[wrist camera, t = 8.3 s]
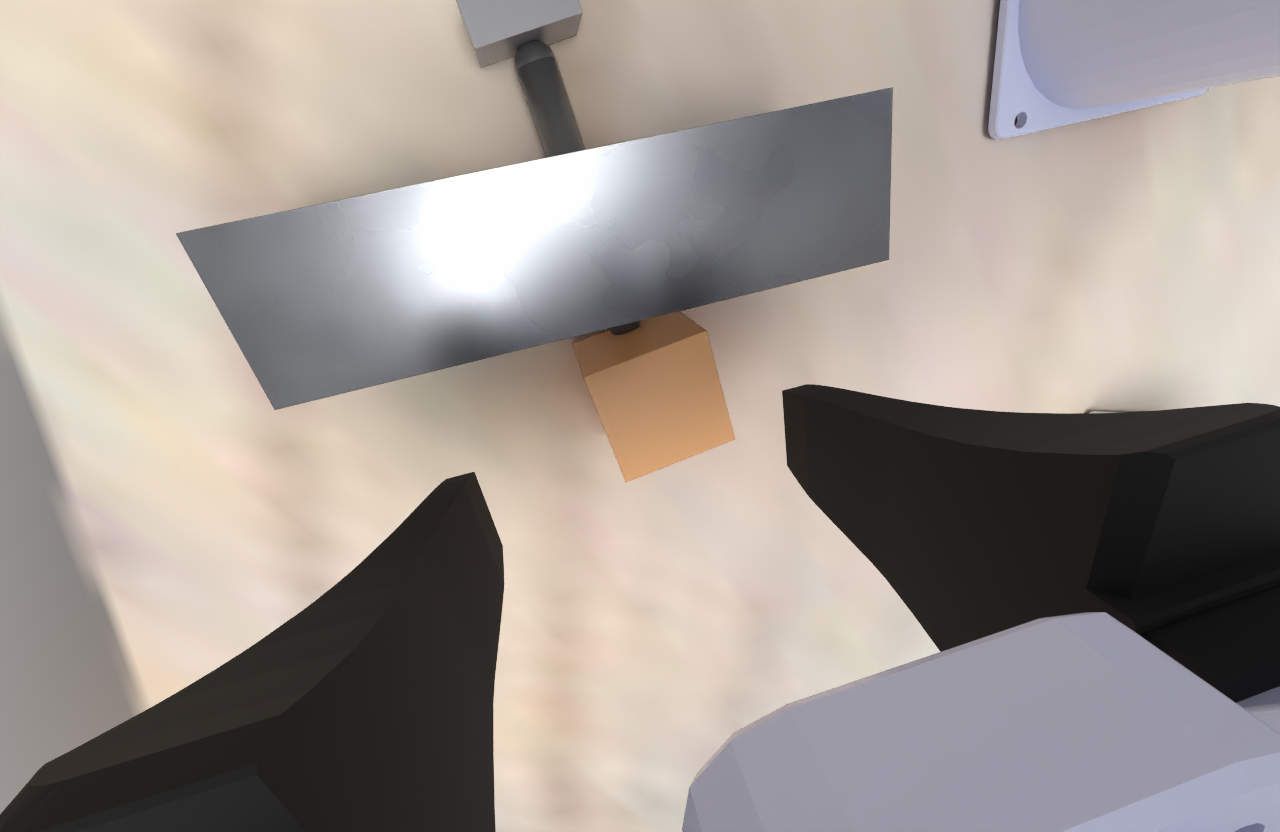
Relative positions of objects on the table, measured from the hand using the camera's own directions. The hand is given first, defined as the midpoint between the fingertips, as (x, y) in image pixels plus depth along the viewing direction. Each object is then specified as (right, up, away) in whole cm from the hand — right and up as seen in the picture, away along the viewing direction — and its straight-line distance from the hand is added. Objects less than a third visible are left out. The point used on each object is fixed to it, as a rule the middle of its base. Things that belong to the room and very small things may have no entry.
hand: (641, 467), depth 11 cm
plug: (-2, +7, +6) cm, 10 cm away
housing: (-3, +7, +6) cm, 10 cm away
